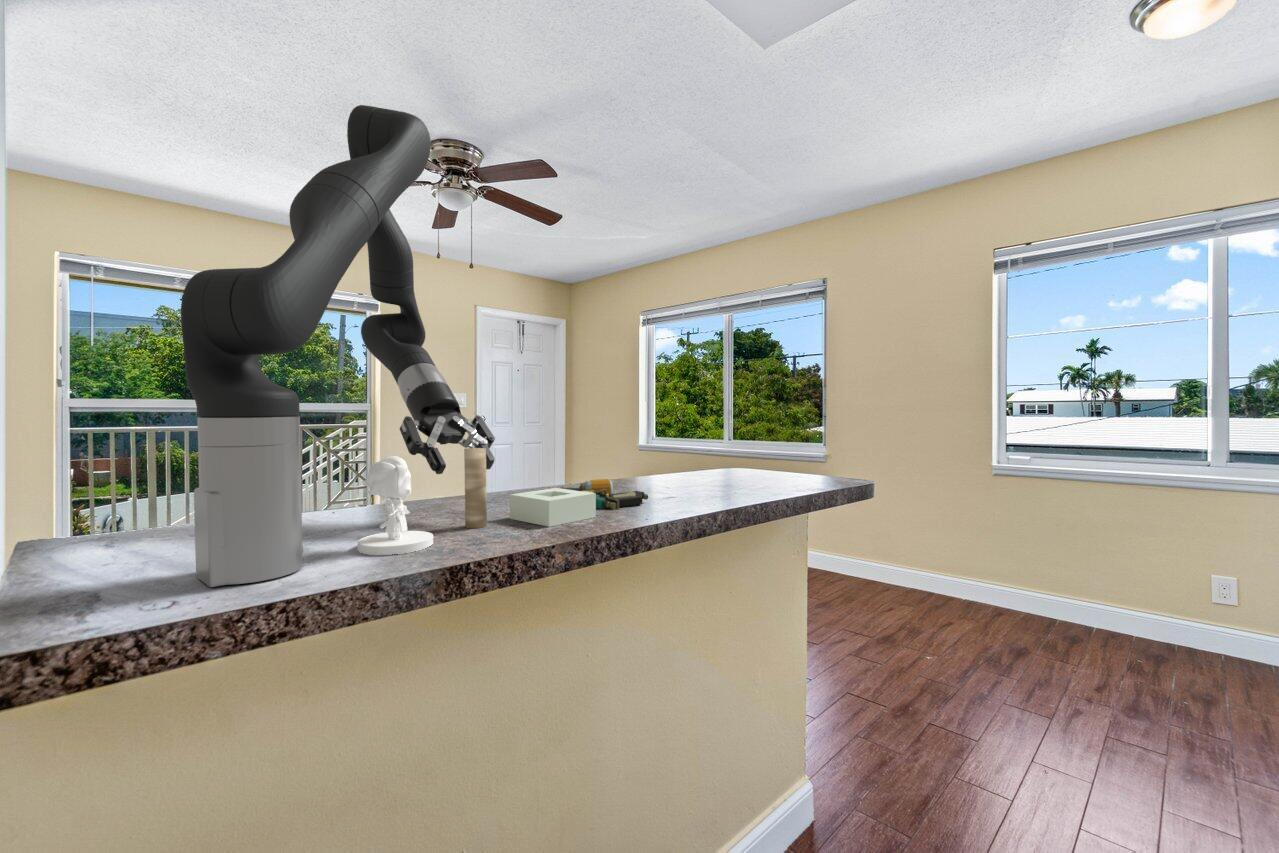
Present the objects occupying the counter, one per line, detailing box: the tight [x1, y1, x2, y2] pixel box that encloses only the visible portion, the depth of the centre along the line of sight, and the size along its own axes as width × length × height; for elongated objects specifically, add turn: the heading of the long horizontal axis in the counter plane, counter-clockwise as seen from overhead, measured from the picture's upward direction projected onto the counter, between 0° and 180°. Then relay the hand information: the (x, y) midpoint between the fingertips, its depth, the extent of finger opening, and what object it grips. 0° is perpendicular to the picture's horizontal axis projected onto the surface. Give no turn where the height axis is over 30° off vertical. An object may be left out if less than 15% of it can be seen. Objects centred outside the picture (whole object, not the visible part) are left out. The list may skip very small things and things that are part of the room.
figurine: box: [357, 455, 434, 556], centre depth 74 cm, size 9×9×12 cm
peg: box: [463, 447, 488, 529], centre depth 87 cm, size 3×3×12 cm
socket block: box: [509, 487, 597, 528], centre depth 93 cm, size 10×10×4 cm
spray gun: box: [559, 478, 649, 510], centre depth 108 cm, size 4×17×15 cm
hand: (467, 468), depth 88 cm, fingers open, 8 cm apart
